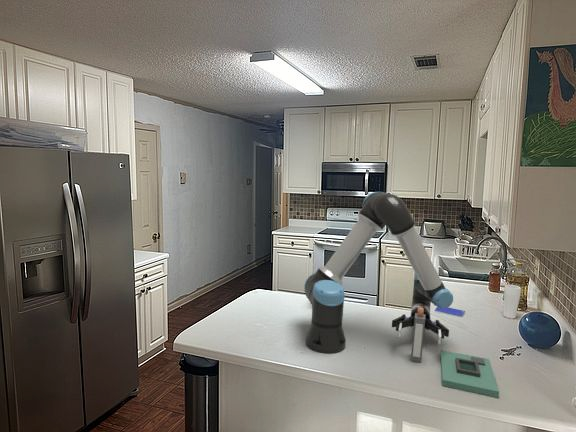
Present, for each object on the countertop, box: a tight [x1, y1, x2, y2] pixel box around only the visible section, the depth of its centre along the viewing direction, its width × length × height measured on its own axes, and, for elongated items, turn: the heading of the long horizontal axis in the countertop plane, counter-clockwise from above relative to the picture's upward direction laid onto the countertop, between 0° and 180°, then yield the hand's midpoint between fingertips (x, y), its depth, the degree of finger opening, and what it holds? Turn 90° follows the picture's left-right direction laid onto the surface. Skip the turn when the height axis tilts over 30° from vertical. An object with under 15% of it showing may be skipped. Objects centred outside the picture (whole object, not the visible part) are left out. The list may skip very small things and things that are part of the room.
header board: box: [440, 349, 500, 398], centre depth 132 cm, size 22×16×3 cm
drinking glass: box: [502, 283, 522, 320], centre depth 186 cm, size 7×7×15 cm
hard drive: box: [434, 306, 466, 319], centre depth 190 cm, size 2×8×12 cm
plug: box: [410, 307, 425, 363], centre depth 141 cm, size 5×4×19 cm, turn 160°
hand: (419, 336), depth 139 cm, fingers open, 13 cm apart
